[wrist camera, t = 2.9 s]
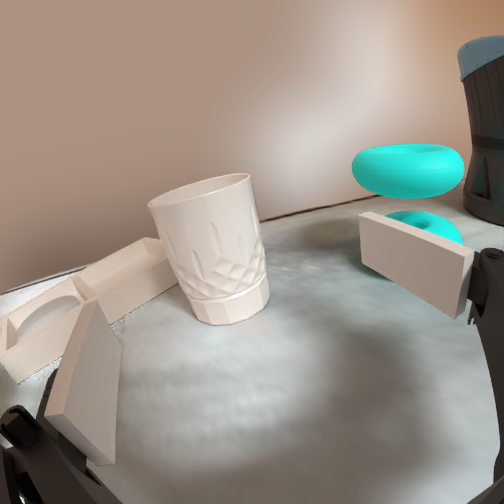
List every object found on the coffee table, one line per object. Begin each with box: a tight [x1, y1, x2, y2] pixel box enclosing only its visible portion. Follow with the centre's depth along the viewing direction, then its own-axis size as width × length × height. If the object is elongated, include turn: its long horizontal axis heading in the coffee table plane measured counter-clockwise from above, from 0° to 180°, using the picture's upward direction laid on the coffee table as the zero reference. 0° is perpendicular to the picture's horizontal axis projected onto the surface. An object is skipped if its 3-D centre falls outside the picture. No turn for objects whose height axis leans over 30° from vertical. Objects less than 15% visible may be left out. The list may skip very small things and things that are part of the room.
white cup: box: [147, 173, 270, 325], centre depth 22 cm, size 8×8×10 cm
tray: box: [0, 237, 178, 384], centre depth 28 cm, size 24×12×3 cm, turn 138°
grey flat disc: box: [16, 295, 80, 342], centre depth 24 cm, size 9×9×1 cm
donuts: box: [352, 144, 464, 245], centre depth 22 cm, size 10×10×10 cm
